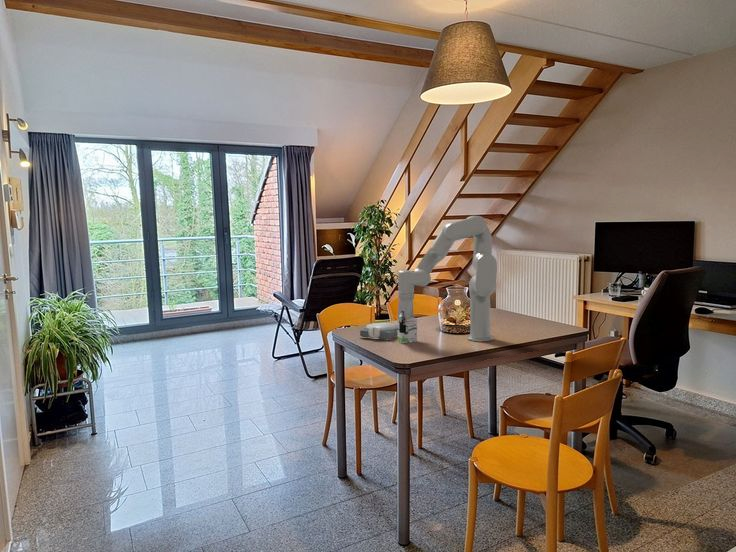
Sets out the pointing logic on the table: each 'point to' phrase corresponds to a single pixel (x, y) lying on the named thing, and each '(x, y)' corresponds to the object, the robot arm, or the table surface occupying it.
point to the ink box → (408, 330)
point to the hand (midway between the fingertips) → (406, 330)
